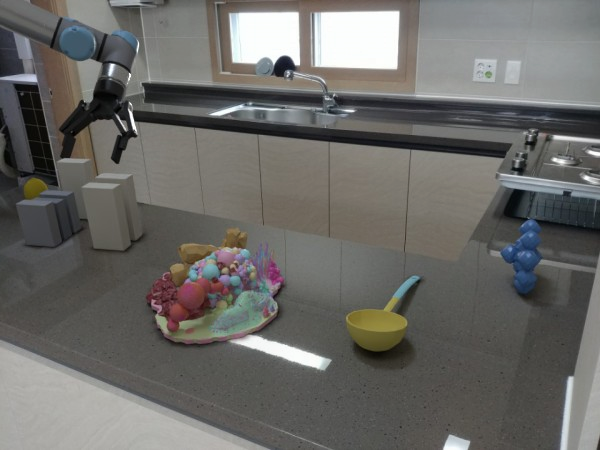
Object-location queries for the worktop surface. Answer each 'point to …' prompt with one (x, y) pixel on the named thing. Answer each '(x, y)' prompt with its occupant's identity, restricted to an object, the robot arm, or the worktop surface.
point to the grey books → (49, 218)
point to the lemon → (34, 188)
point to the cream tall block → (76, 179)
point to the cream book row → (112, 211)
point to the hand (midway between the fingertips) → (89, 160)
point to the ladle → (379, 323)
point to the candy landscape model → (216, 292)
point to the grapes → (524, 256)
